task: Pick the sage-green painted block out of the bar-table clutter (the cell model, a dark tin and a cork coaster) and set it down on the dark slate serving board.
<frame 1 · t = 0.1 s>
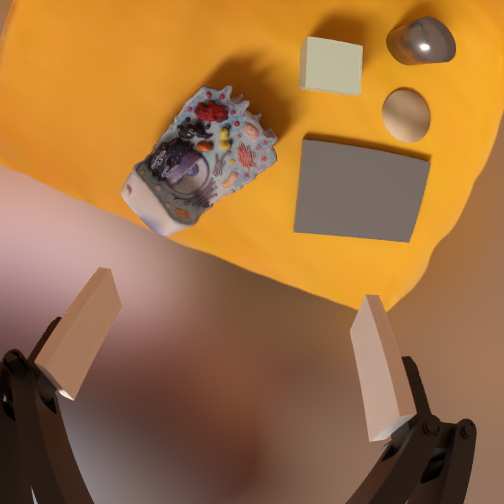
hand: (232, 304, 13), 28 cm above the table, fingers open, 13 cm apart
cell model: (209, 154, 37), on the table
cork coaster: (405, 115, 31), on the table
slate board: (363, 193, 38), on the table
sage block: (322, 71, 29), on the table
dark tin: (404, 46, 25), on the table
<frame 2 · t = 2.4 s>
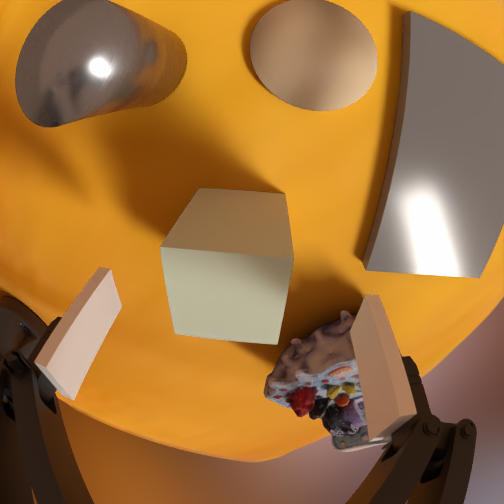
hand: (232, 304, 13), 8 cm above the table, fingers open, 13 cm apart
cell model: (350, 354, 28), on the table
cork coaster: (314, 53, 13), on the table
slate board: (462, 162, 15), on the table
sage block: (240, 228, 20), on the table
dark tin: (145, 65, 14), on the table
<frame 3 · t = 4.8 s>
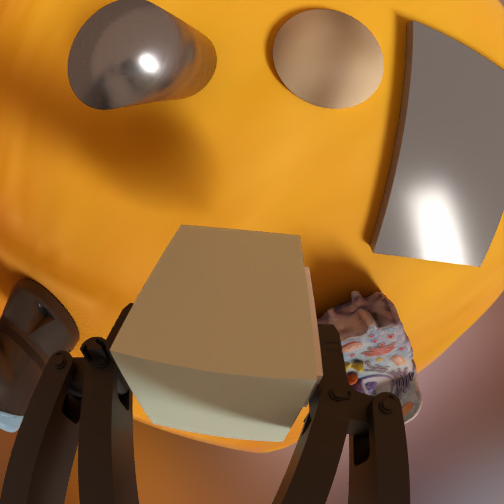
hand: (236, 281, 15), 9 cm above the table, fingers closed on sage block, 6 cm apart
cell model: (359, 338, 30), on the table
cork coaster: (328, 58, 15), on the table
slate board: (461, 157, 17), on the table
sage block: (237, 277, 15), point 9 cm above the table, touching gripper
dark tin: (178, 63, 16), on the table
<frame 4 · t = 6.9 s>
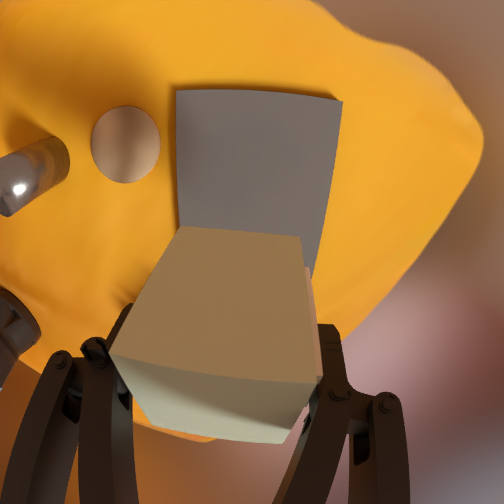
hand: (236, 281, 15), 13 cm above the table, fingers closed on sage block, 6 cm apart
cork coaster: (126, 143, 24), on the table
slate board: (252, 195, 26), on the table
sage block: (237, 278, 15), point 13 cm above the table, touching gripper
dark tin: (53, 160, 24), on the table
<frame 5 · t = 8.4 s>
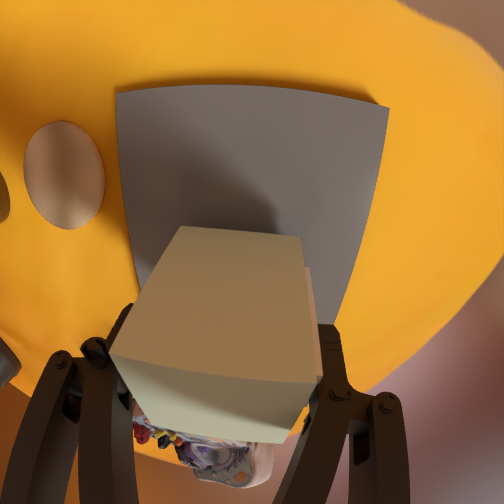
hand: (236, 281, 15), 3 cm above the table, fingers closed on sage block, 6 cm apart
cell model: (207, 401, 30), on the table
cork coaster: (64, 174, 15), on the table
slate board: (240, 252, 17), on the table
sage block: (237, 278, 15), point 3 cm above the table, touching gripper
when the fingers open (2 cm above the table, at t = 9.1 s): sage block stays where it is, resting on slate board.
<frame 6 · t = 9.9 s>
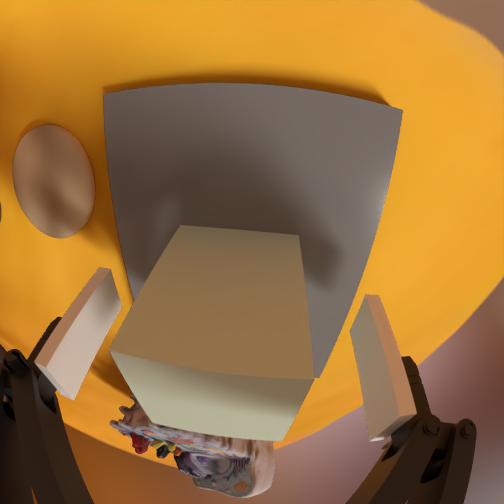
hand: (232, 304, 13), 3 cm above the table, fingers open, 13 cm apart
cell model: (207, 410, 29), on the table
cork coaster: (54, 180, 14), on the table
slate board: (239, 264, 16), on the table
sage block: (236, 277, 15), point 1 cm above the table, touching slate board
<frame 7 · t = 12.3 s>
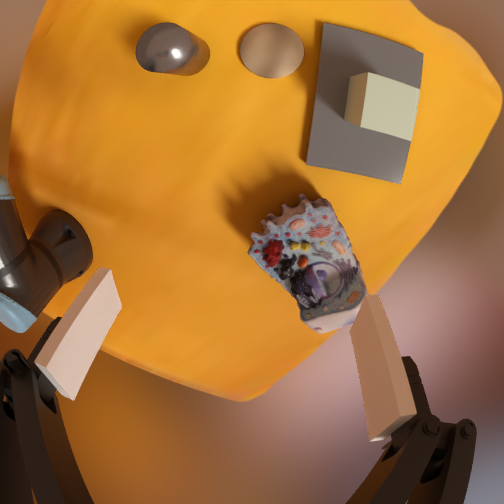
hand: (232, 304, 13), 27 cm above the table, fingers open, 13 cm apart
cell model: (314, 246, 42), on the table
cork coaster: (272, 51, 27), on the table
slate board: (366, 103, 29), on the table
sage block: (369, 103, 28), point 1 cm above the table, touching slate board
dark tin: (188, 55, 28), on the table
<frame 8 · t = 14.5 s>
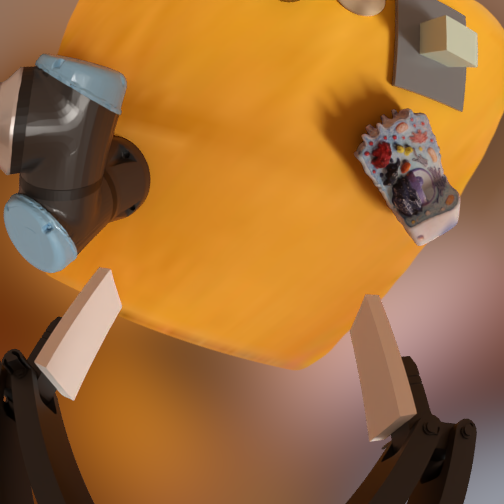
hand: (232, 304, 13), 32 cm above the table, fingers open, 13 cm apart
cell model: (399, 165, 38), on the table
slate board: (431, 45, 26), on the table
sage block: (435, 45, 25), point 1 cm above the table, touching slate board
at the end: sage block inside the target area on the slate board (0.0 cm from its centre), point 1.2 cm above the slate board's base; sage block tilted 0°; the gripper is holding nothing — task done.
